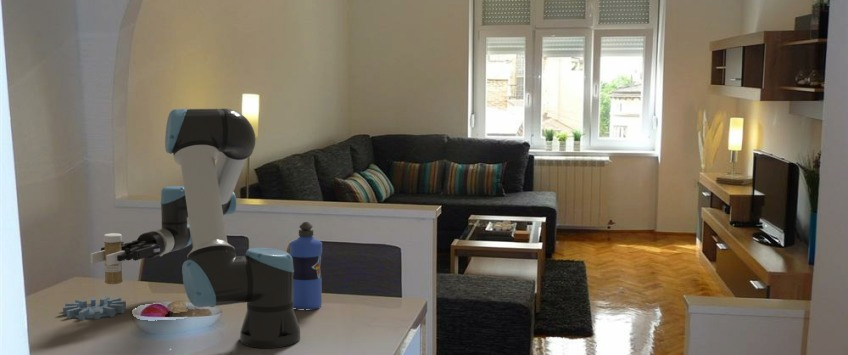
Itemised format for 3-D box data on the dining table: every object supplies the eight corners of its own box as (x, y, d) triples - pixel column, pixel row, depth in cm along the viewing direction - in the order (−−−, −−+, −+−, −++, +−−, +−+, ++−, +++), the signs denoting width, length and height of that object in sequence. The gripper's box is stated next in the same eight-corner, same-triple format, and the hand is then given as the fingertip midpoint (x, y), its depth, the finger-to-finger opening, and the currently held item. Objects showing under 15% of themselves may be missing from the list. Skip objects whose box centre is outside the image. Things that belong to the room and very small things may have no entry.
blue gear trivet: (110, 321, 218) (110, 313, 218) (51, 319, 219) (51, 311, 219) (135, 304, 235) (135, 297, 235) (80, 302, 236) (80, 295, 235)
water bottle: (325, 302, 240) (325, 220, 237) (317, 311, 231) (318, 226, 228) (294, 301, 241) (294, 219, 238) (286, 310, 232) (286, 224, 229)
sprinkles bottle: (104, 285, 216) (102, 236, 214) (105, 281, 220) (104, 233, 219) (122, 284, 217) (121, 235, 216) (123, 280, 221) (122, 232, 220)
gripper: (180, 258, 232) (127, 276, 210) (130, 253, 238) (73, 270, 216) (179, 233, 232) (126, 248, 210) (129, 229, 237) (72, 243, 215)
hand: (99, 259), depth 213 cm, fingers closed on sprinkles bottle, 4 cm apart
